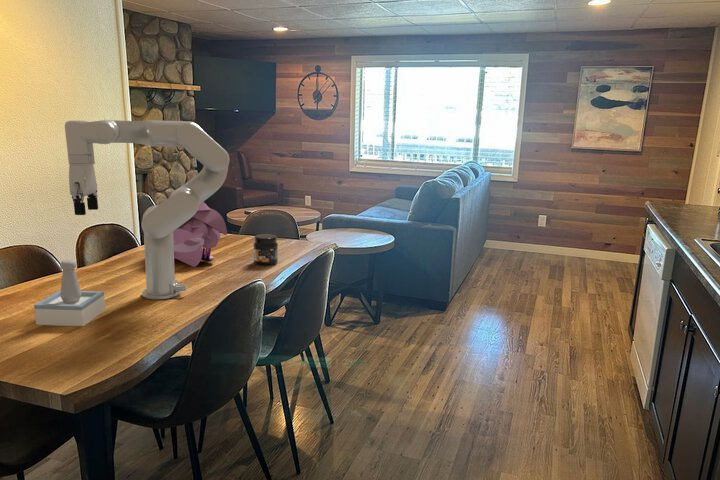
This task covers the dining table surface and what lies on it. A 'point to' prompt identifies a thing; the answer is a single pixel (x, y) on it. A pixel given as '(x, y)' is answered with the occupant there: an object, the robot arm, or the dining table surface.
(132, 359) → the dining table surface
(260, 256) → the supplement container
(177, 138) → the robot arm
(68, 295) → the salt shaker
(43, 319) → the stand
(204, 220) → the flower arrangement
